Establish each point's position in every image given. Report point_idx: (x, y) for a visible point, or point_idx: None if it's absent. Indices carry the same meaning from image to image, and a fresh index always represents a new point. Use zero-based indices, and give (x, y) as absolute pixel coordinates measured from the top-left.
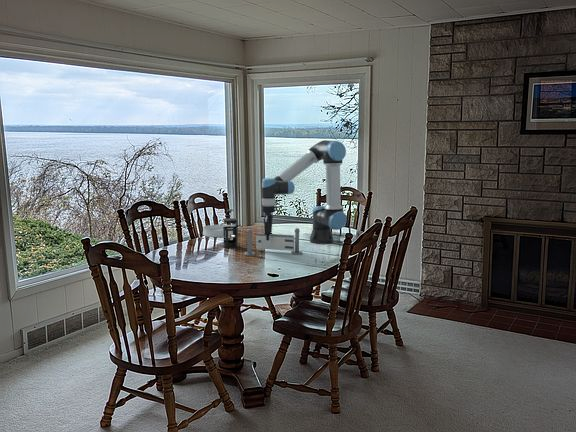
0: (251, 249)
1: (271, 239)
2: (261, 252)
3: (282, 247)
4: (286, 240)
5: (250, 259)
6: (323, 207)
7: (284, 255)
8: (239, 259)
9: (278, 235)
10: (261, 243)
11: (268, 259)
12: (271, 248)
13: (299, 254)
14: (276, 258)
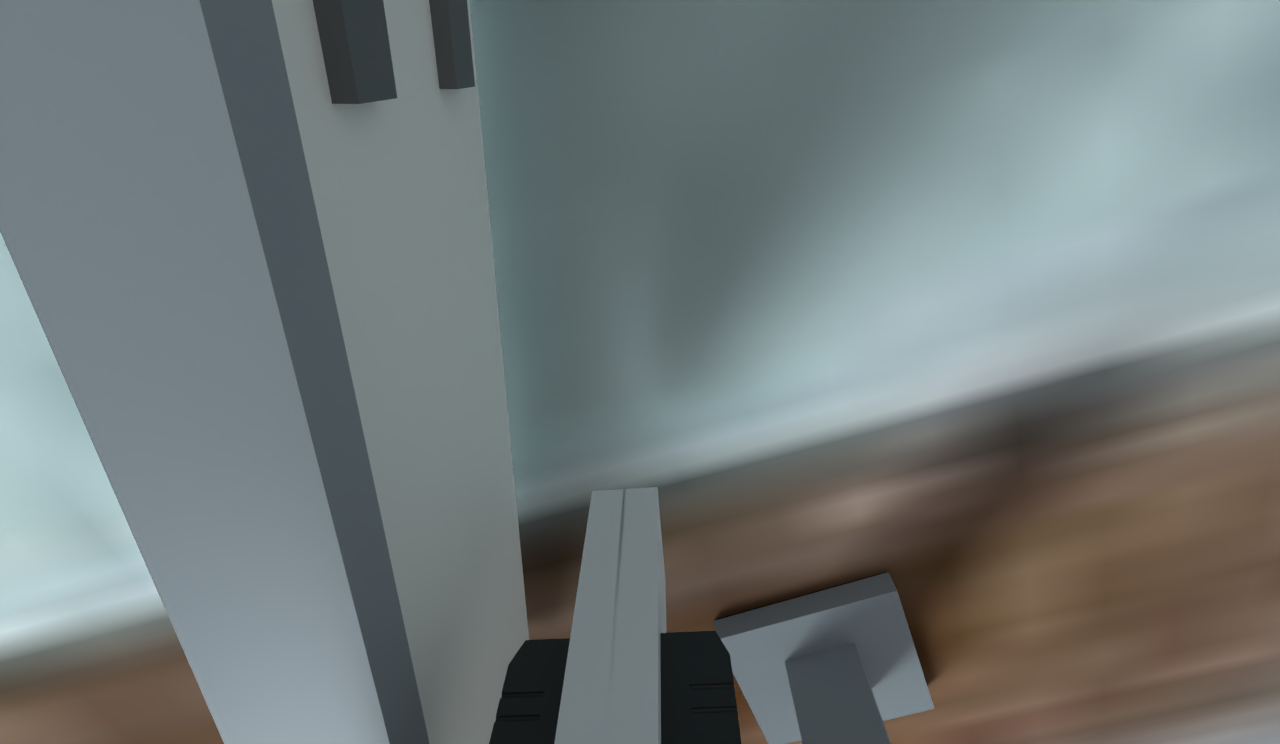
0: (876, 711)
1: (443, 605)
2: None
3: (463, 175)
4: (360, 10)
5: (1189, 557)
6: None
7: (766, 5)
8: (1179, 682)
9: (347, 504)
10: None
11: (1212, 267)
12: (504, 442)
13: None
14: (1117, 117)
